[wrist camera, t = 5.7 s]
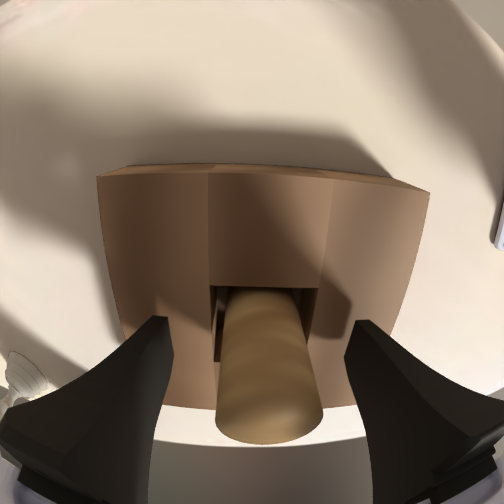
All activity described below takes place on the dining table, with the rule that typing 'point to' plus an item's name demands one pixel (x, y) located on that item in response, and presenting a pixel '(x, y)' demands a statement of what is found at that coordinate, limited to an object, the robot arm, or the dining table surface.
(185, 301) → the socket block
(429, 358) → the dining table surface
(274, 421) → the pin
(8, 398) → the chalice
